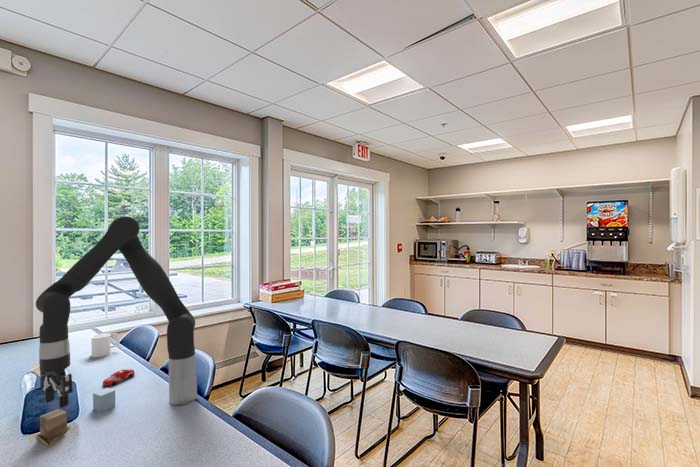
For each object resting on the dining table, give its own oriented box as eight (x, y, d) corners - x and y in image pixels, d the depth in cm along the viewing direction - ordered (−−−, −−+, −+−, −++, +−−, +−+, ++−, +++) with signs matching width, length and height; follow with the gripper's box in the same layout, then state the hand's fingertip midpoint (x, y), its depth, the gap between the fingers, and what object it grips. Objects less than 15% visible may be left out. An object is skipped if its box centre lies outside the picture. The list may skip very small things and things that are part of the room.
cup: (120, 352, 188) (119, 334, 188) (92, 358, 180) (92, 339, 180) (117, 349, 194) (117, 331, 194) (90, 354, 186) (90, 335, 186)
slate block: (115, 406, 131) (115, 390, 131) (101, 412, 126) (100, 396, 126) (107, 403, 133) (107, 387, 133) (93, 409, 129) (92, 393, 129)
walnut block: (67, 430, 113) (66, 412, 113) (48, 438, 109) (47, 419, 109) (59, 426, 115) (58, 408, 115) (40, 434, 111) (39, 416, 111)
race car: (108, 388, 146) (108, 379, 146) (99, 387, 148) (99, 377, 148) (136, 376, 159) (136, 367, 158) (128, 374, 160) (127, 365, 160)
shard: (49, 449, 106) (49, 443, 106) (20, 452, 105) (20, 446, 105) (71, 429, 117) (71, 424, 117) (45, 432, 115) (45, 426, 115)
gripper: (80, 353, 112) (82, 403, 112) (57, 347, 118) (58, 394, 118) (52, 361, 105) (54, 414, 105) (29, 354, 111) (31, 405, 112)
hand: (56, 404), depth 112 cm, fingers open, 8 cm apart
